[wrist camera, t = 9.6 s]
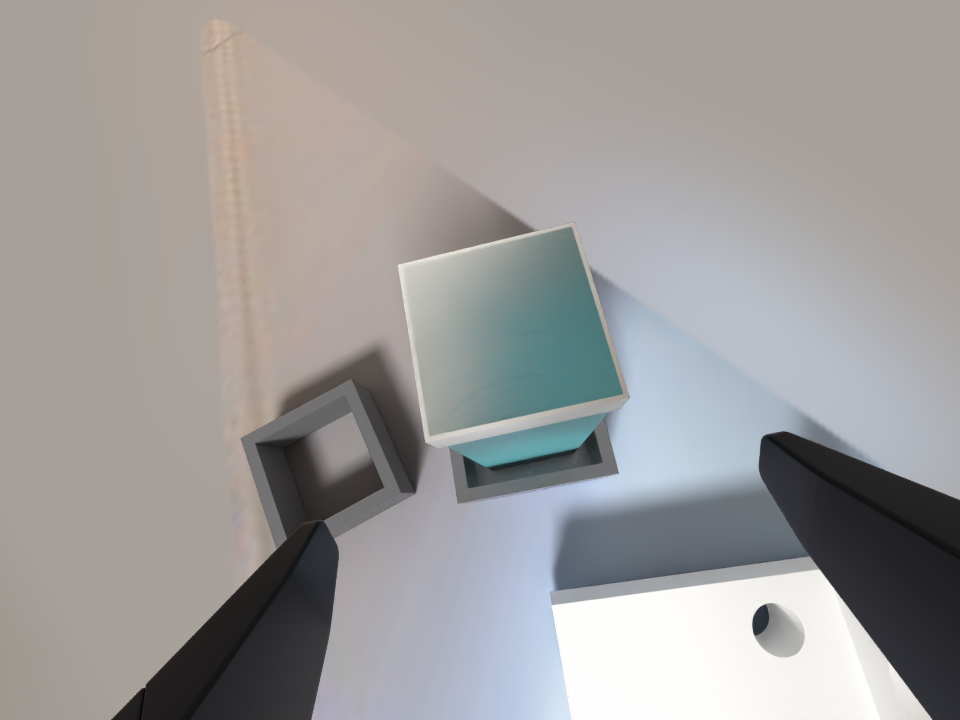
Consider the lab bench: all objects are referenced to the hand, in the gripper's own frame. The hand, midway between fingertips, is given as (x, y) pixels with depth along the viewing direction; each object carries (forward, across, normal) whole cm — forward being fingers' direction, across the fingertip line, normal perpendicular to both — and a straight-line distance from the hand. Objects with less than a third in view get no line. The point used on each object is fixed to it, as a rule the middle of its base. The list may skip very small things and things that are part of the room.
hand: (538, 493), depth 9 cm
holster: (+12, +10, +7) cm, 17 cm away
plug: (+11, 0, +6) cm, 13 cm away
